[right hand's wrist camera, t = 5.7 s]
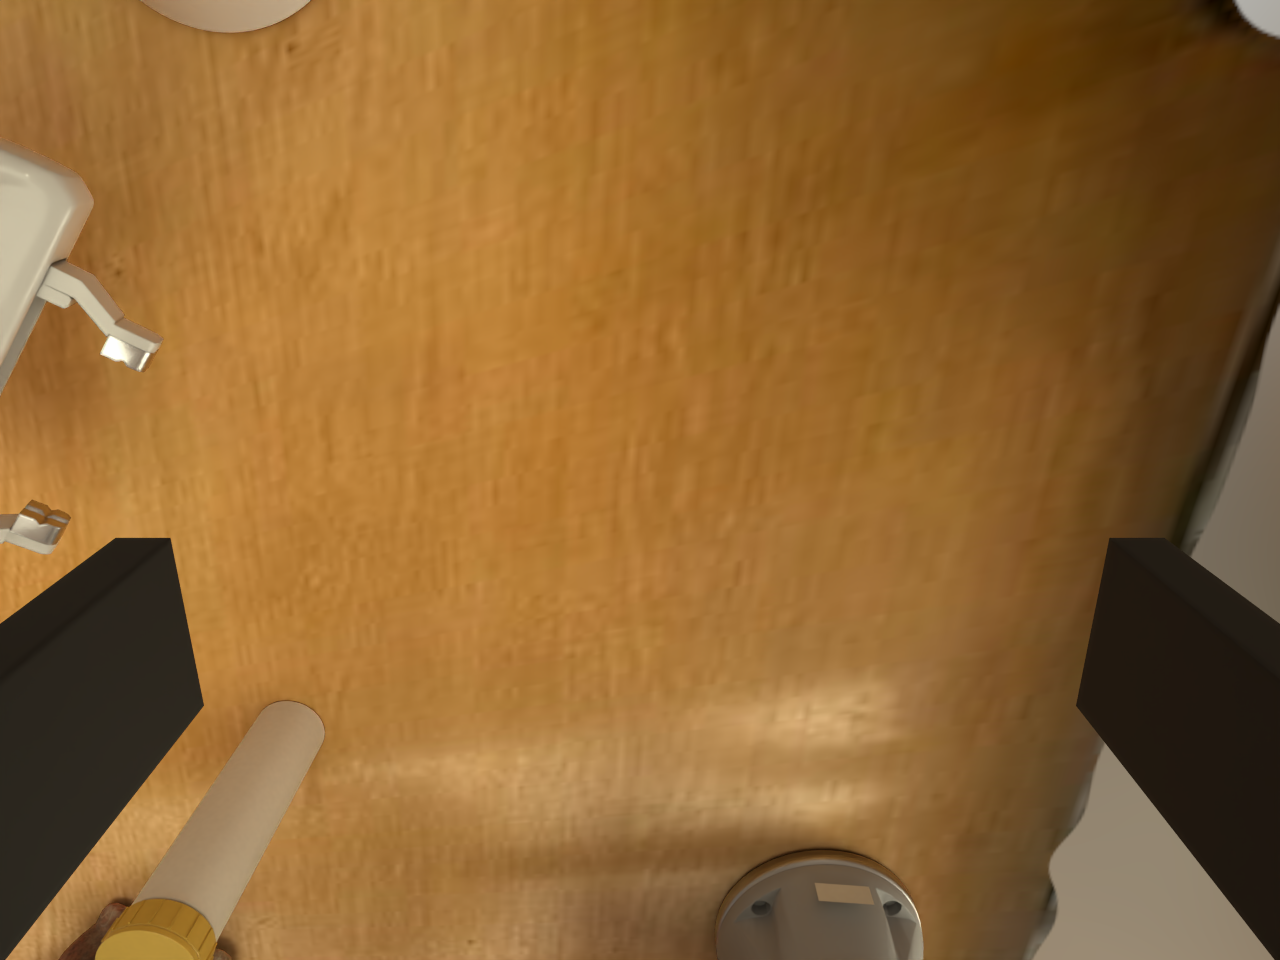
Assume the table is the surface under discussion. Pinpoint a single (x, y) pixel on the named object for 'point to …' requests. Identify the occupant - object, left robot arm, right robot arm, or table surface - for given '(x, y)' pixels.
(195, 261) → the table surface
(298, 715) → the jar
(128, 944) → the lid
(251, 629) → the table surface
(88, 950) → the sculpture
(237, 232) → the table surface
